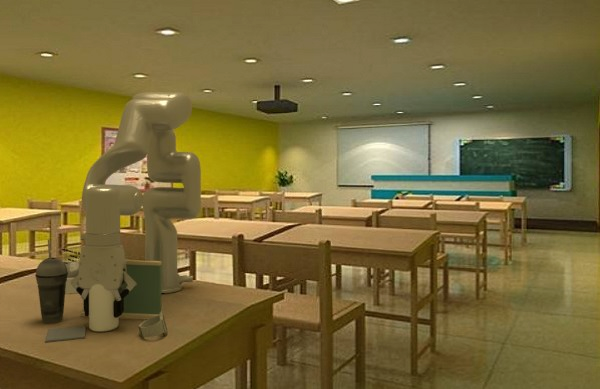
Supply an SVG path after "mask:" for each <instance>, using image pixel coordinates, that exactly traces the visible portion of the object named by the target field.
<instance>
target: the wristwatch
mask: <svg viewBox="0 0 600 389" xmlns="http://www.w3.org/2000/svg"><path fill="white" fill-rule="evenodd" d="M138 330H139V334H140V337H142V338H152V337H157V336H159V335H162V334H164V336H166V335H167V333H168V328H167V323H166V320H165V316H164V312H163V313H162V312H160V314H159V315H158V316H155V317H152V318H150V319H147V320H146V319H144V321H142V322H140V324H138Z"/></svg>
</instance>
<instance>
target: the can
mask: <svg viewBox="0 0 600 389" xmlns="http://www.w3.org/2000/svg"><path fill="white" fill-rule="evenodd" d="M115 300H116V298H115V296H114V293H113V290H106V289H104V287H103V286H102V285H100V284H95V285H93V286H92V289H89V317H88V326H89V329H90V331H91V332H95V333H105V332H110V331H111V332H112V331H113V330H115V329H117V328H118V327H119V322H120V321H119V319H120V318H119V317H117V318H115V317H114V301H115Z"/></svg>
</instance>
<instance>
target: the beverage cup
mask: <svg viewBox="0 0 600 389" xmlns="http://www.w3.org/2000/svg"><path fill="white" fill-rule="evenodd" d="M51 250H52V249H51V240H50V238H49V239H47V251H48V257H47V258H45V259H43V260H41V262H40V263H39V264H38V266H37V267H36V270H35V280H36V284H37V290H38V298H39V308H40V315H41V316H40V317H41V321H42V323H44V324H55V323H60V322H62V321H63V319H64V318H63V317H64V314H65V313H64V311H65V298H66V294H65V288H66V281H67V274H68V272H67V267H66V265H65V263H64V262H65V261H63V260H62V259H60V258H58V257H52V251H51Z"/></svg>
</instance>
